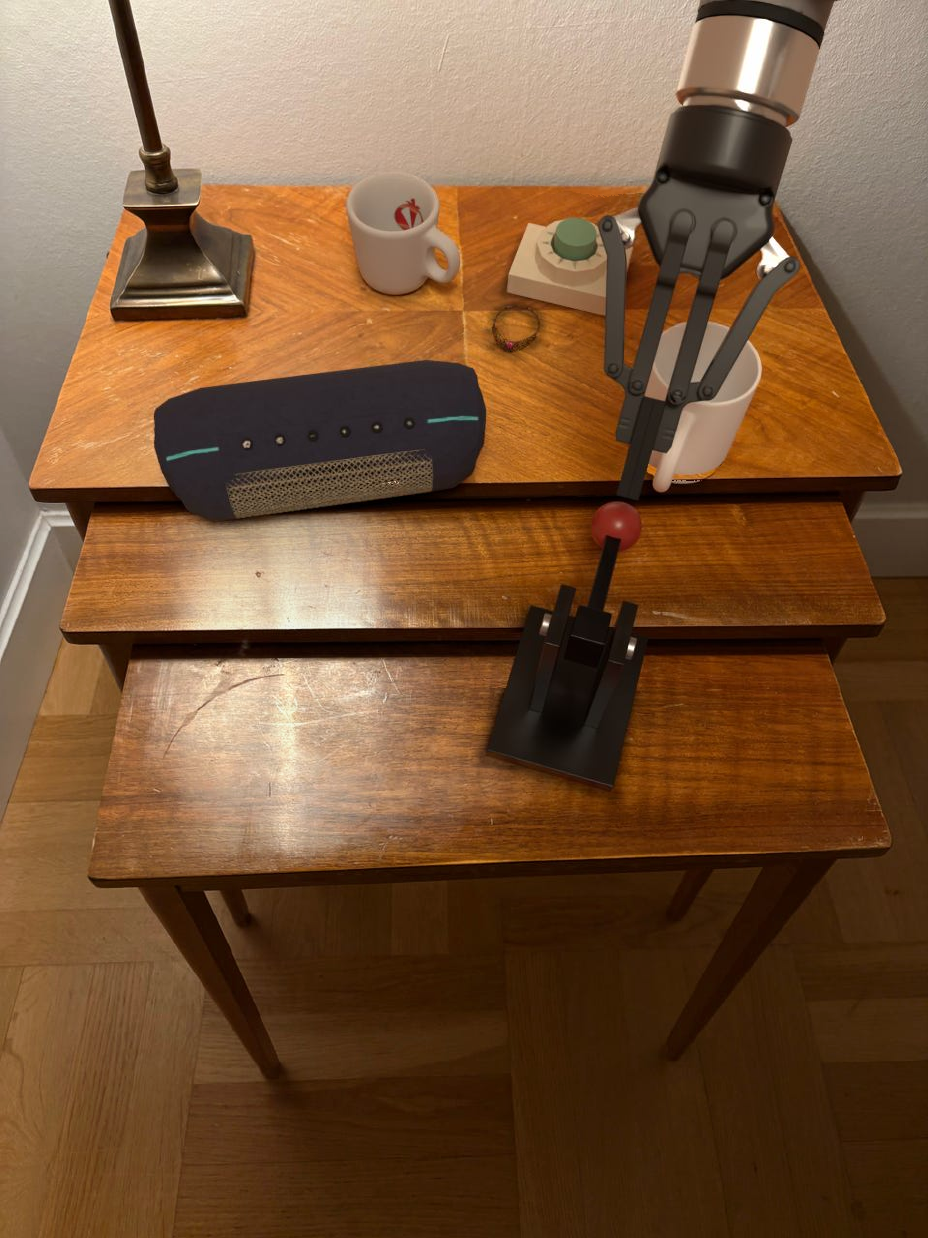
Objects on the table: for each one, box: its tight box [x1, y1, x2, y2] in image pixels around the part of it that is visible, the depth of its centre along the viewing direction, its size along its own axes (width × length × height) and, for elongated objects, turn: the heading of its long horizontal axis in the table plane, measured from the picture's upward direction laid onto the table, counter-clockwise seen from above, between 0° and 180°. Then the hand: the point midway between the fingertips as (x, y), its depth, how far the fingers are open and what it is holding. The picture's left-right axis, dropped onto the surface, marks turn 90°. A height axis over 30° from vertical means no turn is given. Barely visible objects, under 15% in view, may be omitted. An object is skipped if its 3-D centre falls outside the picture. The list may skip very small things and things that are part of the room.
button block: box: [506, 219, 634, 317], centre depth 89 cm, size 10×7×4 cm
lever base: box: [485, 583, 649, 793], centre depth 66 cm, size 12×9×12 cm
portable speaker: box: [153, 359, 487, 522], centre depth 75 cm, size 25×10×10 cm, turn 101°
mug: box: [628, 320, 763, 493], centre depth 76 cm, size 12×8×10 cm
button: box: [554, 217, 597, 262], centre depth 87 cm, size 4×4×2 cm
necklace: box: [491, 304, 541, 354], centre depth 87 cm, size 4×6×1 cm, turn 166°
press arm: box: [564, 501, 643, 668], centre depth 66 cm, size 14×4×4 cm, turn 163°
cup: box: [345, 171, 461, 296], centre depth 86 cm, size 11×8×8 cm
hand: (627, 494), depth 66 cm, fingers closed
